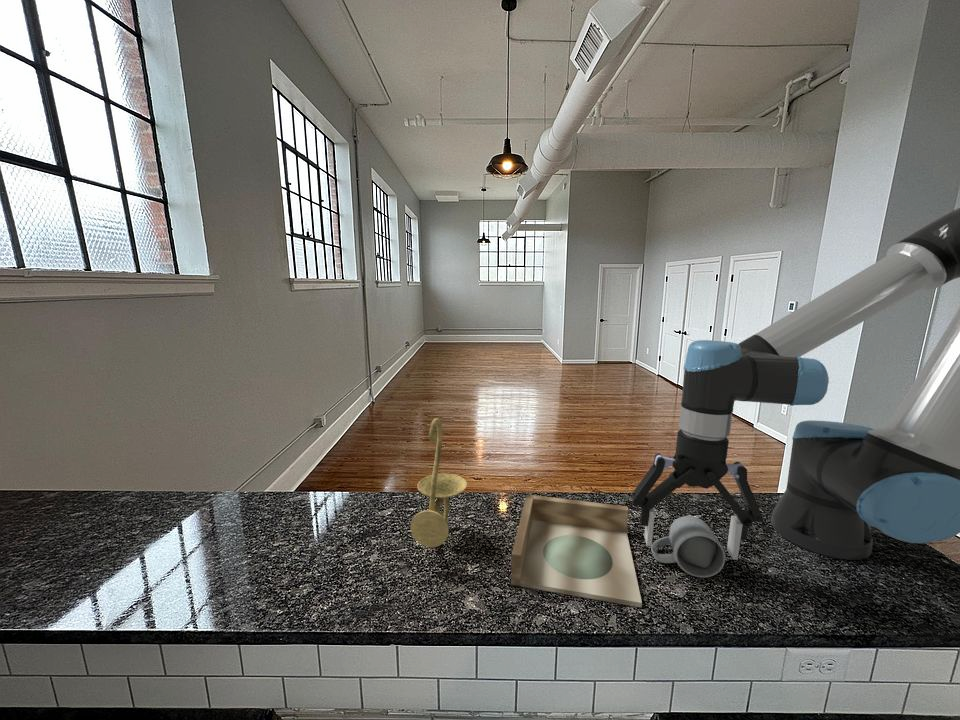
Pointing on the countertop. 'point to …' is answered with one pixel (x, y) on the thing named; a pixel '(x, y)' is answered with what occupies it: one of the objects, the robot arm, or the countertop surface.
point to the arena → (575, 550)
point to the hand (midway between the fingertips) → (688, 548)
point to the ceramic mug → (692, 547)
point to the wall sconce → (429, 523)
